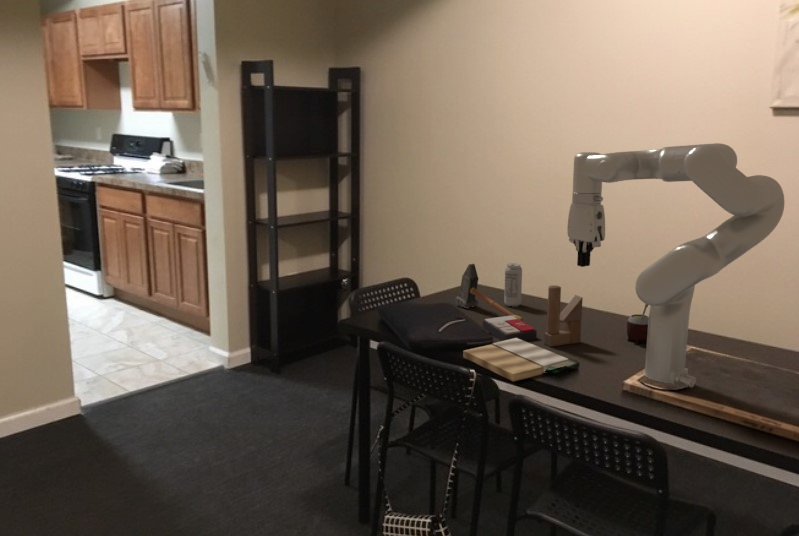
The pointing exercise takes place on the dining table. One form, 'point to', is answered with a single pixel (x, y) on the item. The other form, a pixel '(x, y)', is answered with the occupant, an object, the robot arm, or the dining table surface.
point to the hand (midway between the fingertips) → (583, 265)
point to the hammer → (475, 292)
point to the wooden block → (563, 319)
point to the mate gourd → (638, 328)
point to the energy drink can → (513, 284)
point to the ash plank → (531, 352)
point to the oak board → (502, 362)
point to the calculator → (509, 328)
